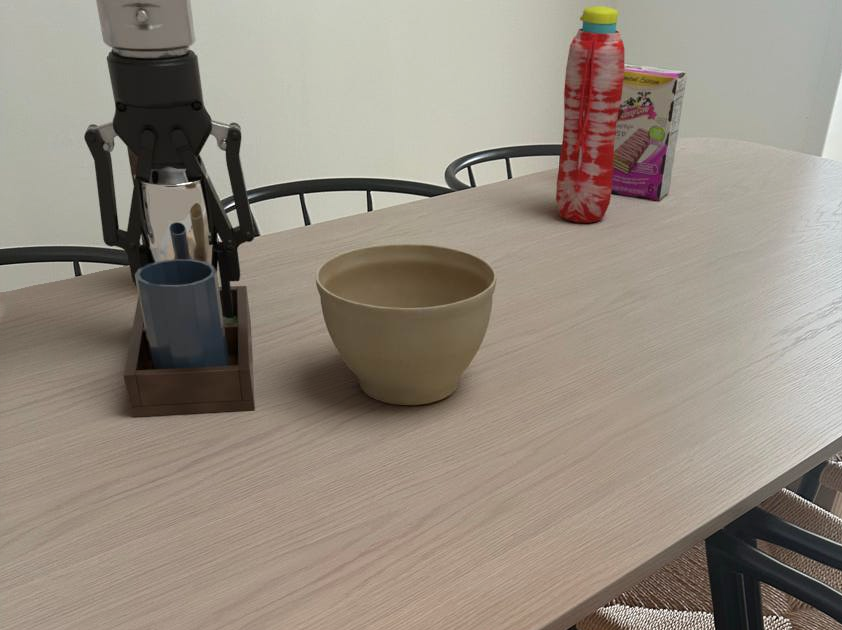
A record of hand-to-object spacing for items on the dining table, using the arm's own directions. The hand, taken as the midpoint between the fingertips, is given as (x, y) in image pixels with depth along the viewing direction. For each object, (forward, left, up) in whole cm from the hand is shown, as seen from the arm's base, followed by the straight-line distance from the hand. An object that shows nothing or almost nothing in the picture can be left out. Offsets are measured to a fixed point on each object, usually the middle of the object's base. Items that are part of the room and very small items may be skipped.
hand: (193, 313), depth 99 cm
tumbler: (0, -10, -2) cm, 10 cm away
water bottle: (+52, +39, -3) cm, 65 cm away
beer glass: (0, 0, -2) cm, 2 cm away
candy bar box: (+62, +49, -4) cm, 79 cm away
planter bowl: (+20, -12, -4) cm, 24 cm away
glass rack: (0, -5, -3) cm, 6 cm away
